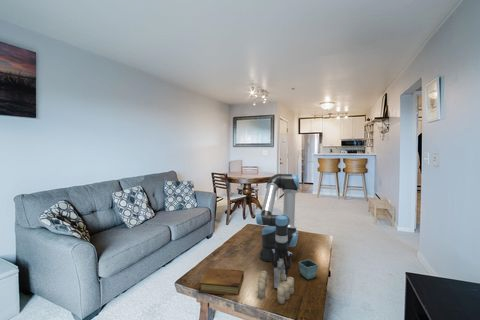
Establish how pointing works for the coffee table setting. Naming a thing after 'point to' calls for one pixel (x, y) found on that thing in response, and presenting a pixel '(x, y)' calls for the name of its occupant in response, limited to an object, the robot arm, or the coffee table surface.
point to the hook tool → (279, 273)
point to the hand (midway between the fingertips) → (281, 278)
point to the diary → (222, 281)
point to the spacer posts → (282, 290)
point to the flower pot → (308, 269)
